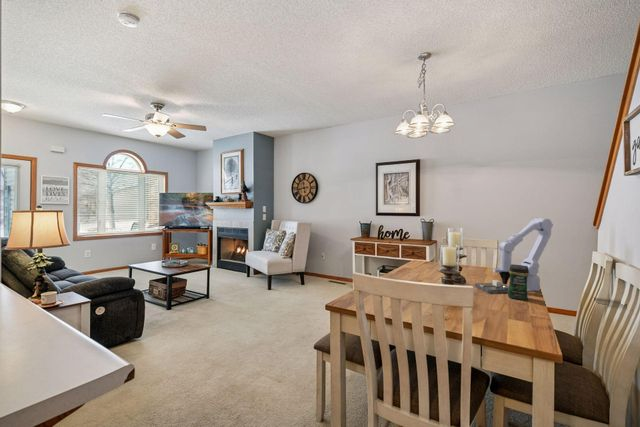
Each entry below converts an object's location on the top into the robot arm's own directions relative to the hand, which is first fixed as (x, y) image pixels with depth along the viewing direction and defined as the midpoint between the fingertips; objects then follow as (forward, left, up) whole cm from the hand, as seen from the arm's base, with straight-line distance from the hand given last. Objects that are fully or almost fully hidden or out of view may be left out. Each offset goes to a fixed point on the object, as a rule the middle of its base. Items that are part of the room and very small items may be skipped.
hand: (504, 284), depth 204 cm
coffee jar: (+3, +16, -3) cm, 16 cm away
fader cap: (+5, 0, -1) cm, 6 cm away
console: (+7, 0, -3) cm, 8 cm away
